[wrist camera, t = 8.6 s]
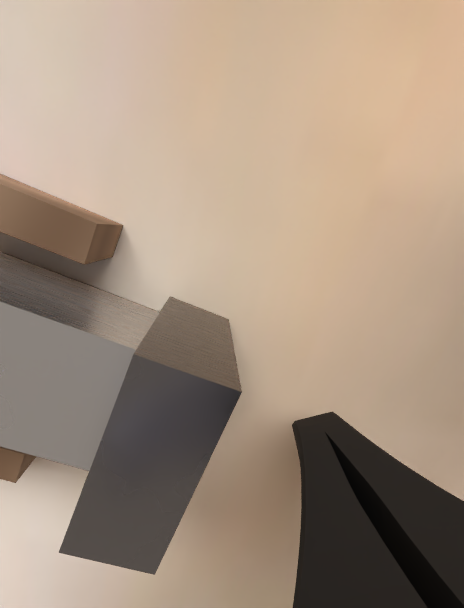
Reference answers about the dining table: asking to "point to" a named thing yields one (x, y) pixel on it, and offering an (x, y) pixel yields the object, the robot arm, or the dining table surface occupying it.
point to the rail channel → (58, 239)
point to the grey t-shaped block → (113, 404)
